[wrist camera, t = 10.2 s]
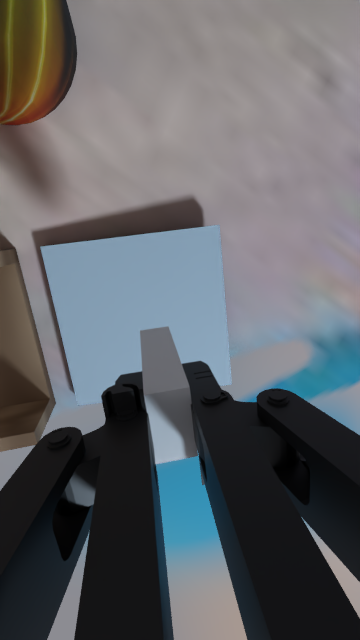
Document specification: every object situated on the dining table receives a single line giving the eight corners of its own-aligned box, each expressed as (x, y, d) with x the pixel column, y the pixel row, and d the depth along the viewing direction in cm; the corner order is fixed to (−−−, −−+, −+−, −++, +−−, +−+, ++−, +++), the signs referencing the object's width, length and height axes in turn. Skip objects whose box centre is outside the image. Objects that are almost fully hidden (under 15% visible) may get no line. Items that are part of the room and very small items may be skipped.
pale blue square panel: (216, 225, 24) (219, 224, 23) (229, 378, 27) (231, 384, 26) (45, 246, 23) (40, 246, 22) (80, 399, 27) (77, 405, 26)
